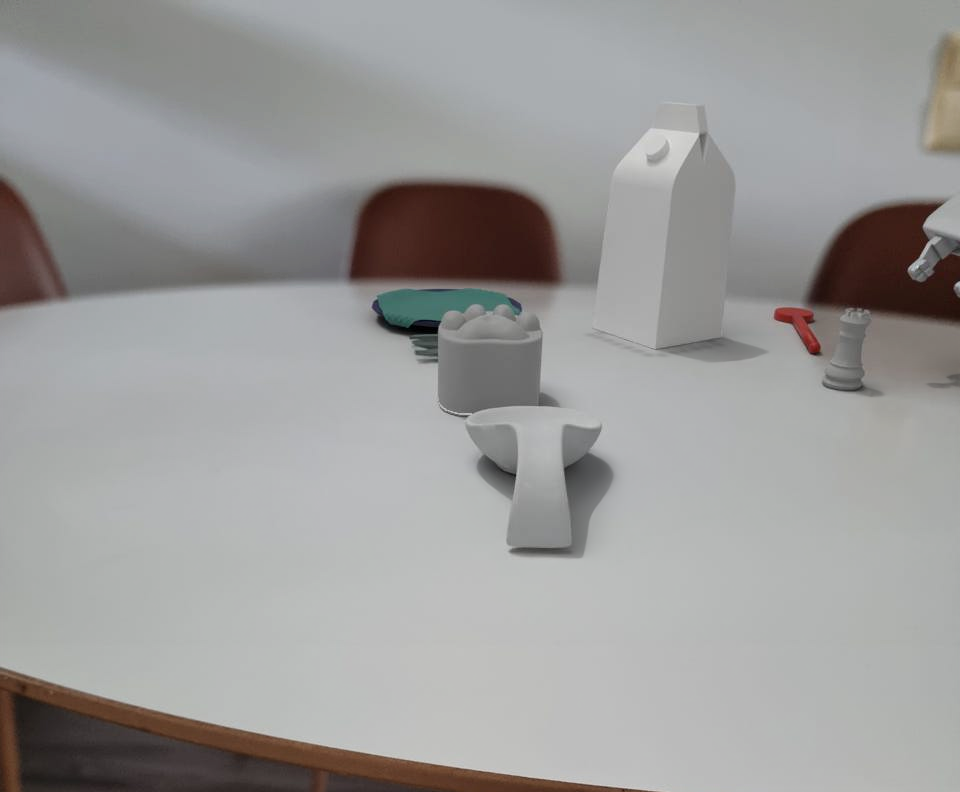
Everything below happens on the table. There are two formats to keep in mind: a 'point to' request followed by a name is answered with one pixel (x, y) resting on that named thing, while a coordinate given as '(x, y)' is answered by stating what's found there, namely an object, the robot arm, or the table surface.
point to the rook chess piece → (848, 353)
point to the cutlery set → (434, 309)
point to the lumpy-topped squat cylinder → (488, 359)
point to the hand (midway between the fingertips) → (935, 285)
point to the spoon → (800, 324)
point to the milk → (667, 235)
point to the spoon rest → (535, 465)
